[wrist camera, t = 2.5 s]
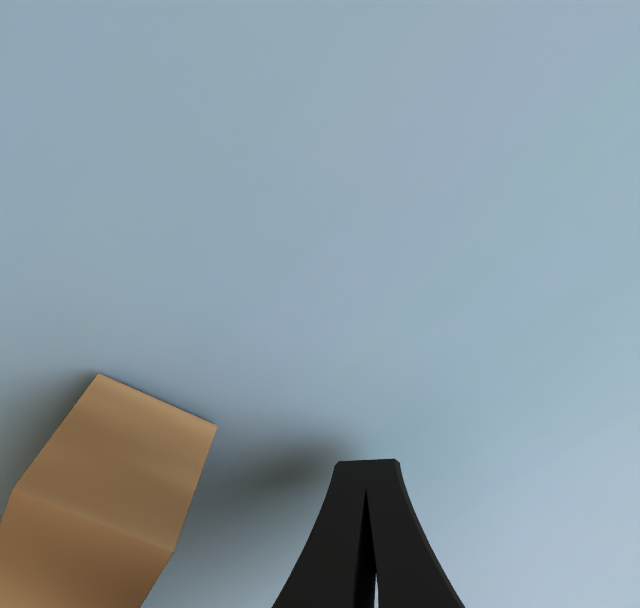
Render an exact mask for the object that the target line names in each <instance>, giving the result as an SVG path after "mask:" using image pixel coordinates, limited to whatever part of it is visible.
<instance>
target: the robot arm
mask: <svg viewBox="0 0 640 608" xmlns="http://www.w3.org/2000/svg"><path fill="white" fill-rule="evenodd" d="M376 576H377V584H378V608H465V606H464V605H463V603H462V602H461V600H460V598H459V597H458V595H457V593H456V592H455V590H454V588H453V587H452V585H451V583H450V581H449V580H448V578H447V576H446V574H445V572H444V571H443V569H442V567H441V565H440V563H439V561H438V560H437V558H436V556H435V554H434V552H433V550H432V548H431V546H430V544H429V542H428V540H427V538H426V535H425V533H424V531H423V529H422V527H421V525H420V523H419V521H418V518H417V516H416V514H415V511H414V509H413V506H412V504H411V501H410V498H409V496H408V493H407V490H406V487H405V484H404V481H403V477H402V473H401V468H400V463H399V462H398V461H397V460H395V459H378V460H357V461H339V462H338V463H337V464H336V465H335V467H334V471H333V475H332V479H331V482H330V485H329V488H328V491H327V494H326V497H325V500H324V502H323V505H322V507H321V510H320V513H319V515H318V517H317V520H316V522H315V524H314V527H313V529H312V531H311V533H310V536H309V538H308V540H307V542H306V545H305V547H304V549H303V551H302V553H301V555H300V557H299V559H298V560H297V562H296V564H295V566H294V568H293V570H292V572H291V574H290V576H289V578H288V580H287V582H286V584H285V585H284V587H283V589H282V591H281V592H280V594H279V596H278V598H277V599H276V601H275V603H274V604H273V606H272V608H374V601H375V582H376Z"/></svg>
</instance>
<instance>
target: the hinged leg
mask: <svg viewBox="0 0 640 608" xmlns="http://www.w3.org/2000/svg"><path fill="white" fill-rule="evenodd" d="M217 427H218V426H217V425H215V424H212V423H210V422H208V421H206V420H203V419H201V418H199V417H197V416H194V415H192V414H190V413H187V412H185V411H183V410H181V409H178V408H176V407H174V406H172V405H169V404H167V403H165V402H163V401H160V400H158V399H156V398H154V397H151V396H149V395H147V394H144V393H142V392H140V391H138V390H135V389H133V388H131V387H129V386H126V385H124V384H122V383H120V382H117V381H115V380H113V379H111V378H108V377H106V376H104V375H101V374H99V373H98V374H97V376H96V377H95V379H94V380H93V381H92V383H91V384H90V385H89V387H88V388H87V389H86V391H85V392H84V393H83V395H82V396H81V397H80V399H79V400H78V401H77V403H76V404H75V405H74V407H73V408H72V409H71V411H70V412H69V414H68V415H67V416H66V418H65V419H64V420H63V422H62V423H61V424H60V426H59V427H58V428H57V430H56V431H55V432H54V434H53V435H52V436H51V438H50V439H49V440H48V442H47V443H46V444H45V446H44V447H43V448H42V450H41V451H40V453H39V454H38V455H37V457H36V458H35V459H34V461H33V462H32V463H31V465H30V466H29V467H28V469H27V470H26V471H25V473H24V474H23V475H22V477H21V478H20V479H19V481H18V482H17V483H16V485H15V486H14V487H13V489H12V492H11V494H10V497H9V500H8V503H7V506H6V509H5V511H4V514H3V517H2V520H1V523H0V608H140V607H141V605H142V603H143V602H144V600H145V598H146V597H147V595H148V594H149V592H150V590H151V589H152V587H153V585H154V584H155V582H156V580H157V579H158V577H159V575H160V574H161V572H162V570H163V569H164V567H165V565H166V564H167V562H168V561H169V559H170V557H171V556H172V554H173V552H174V549H175V546H176V544H177V541H178V538H179V535H180V532H181V529H182V527H183V524H184V521H185V518H186V515H187V512H188V509H189V507H190V504H191V501H192V498H193V495H194V492H195V490H196V487H197V484H198V481H199V478H200V475H201V473H202V470H203V467H204V464H205V461H206V458H207V456H208V453H209V450H210V447H211V444H212V441H213V438H214V436H215V433H216V430H217Z"/></svg>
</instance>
